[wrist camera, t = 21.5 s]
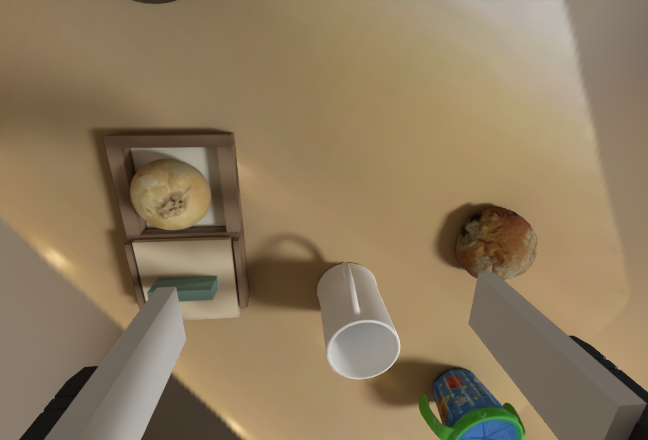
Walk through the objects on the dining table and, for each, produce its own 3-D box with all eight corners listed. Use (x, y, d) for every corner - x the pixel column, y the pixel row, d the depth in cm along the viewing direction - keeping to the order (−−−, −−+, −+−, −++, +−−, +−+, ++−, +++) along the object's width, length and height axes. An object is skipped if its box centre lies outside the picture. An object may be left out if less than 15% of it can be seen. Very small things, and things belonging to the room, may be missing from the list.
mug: (312, 244, 42) (318, 296, 31) (375, 237, 43) (403, 286, 32) (319, 317, 46) (326, 386, 35) (376, 310, 47) (402, 376, 36)
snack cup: (508, 369, 53) (553, 427, 44) (477, 413, 57) (513, 476, 47) (427, 349, 50) (457, 407, 41) (399, 397, 54) (421, 461, 44)
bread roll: (448, 259, 49) (478, 304, 44) (443, 219, 42) (479, 266, 36) (508, 233, 48) (547, 275, 43) (515, 188, 41) (563, 231, 36)
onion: (172, 230, 39) (147, 256, 33) (130, 174, 37) (93, 190, 30) (228, 201, 39) (214, 222, 32) (189, 141, 36) (165, 151, 29)
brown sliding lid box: (115, 133, 35) (97, 137, 32) (234, 132, 36) (227, 136, 33) (152, 300, 43) (141, 317, 40) (249, 296, 44) (246, 311, 41)
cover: (135, 239, 37) (118, 254, 34) (231, 236, 38) (224, 250, 34) (153, 317, 41) (139, 338, 37) (239, 313, 42) (234, 332, 38)
